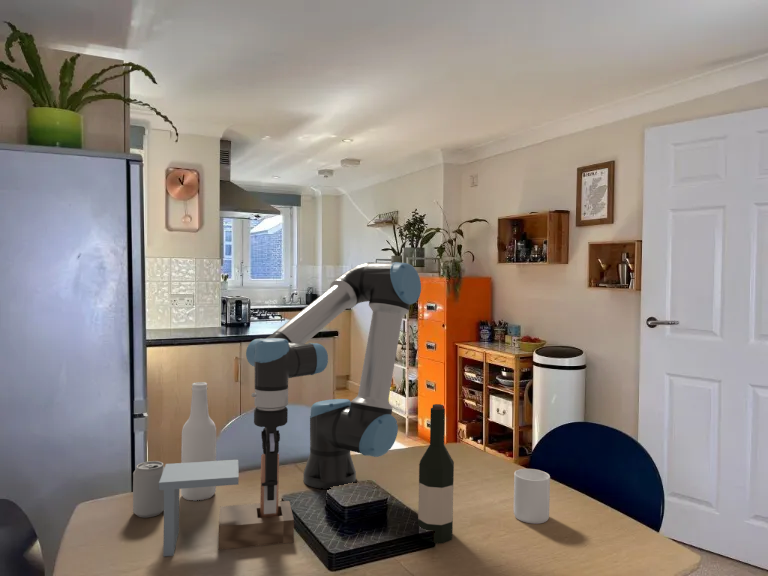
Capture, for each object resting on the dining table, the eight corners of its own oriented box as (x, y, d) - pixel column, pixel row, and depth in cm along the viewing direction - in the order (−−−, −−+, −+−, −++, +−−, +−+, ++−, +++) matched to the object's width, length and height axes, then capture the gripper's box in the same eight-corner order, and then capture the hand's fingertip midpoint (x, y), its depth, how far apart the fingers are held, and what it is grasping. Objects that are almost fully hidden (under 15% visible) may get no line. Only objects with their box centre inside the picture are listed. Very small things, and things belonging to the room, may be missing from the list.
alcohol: (222, 493, 153) (224, 382, 153) (197, 504, 146) (199, 387, 145) (199, 486, 158) (200, 379, 157) (173, 497, 150) (174, 384, 149)
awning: (237, 525, 134) (238, 459, 134) (237, 549, 122) (238, 477, 122) (165, 531, 130) (165, 463, 129) (158, 557, 118) (159, 482, 118)
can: (153, 520, 136) (154, 470, 135) (126, 517, 137) (126, 467, 137) (171, 508, 143) (172, 460, 143) (145, 505, 144) (145, 458, 144)
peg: (277, 520, 132) (278, 452, 132) (278, 527, 128) (279, 457, 128) (259, 521, 131) (260, 453, 131) (260, 529, 127) (261, 458, 127)
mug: (534, 504, 150) (535, 463, 150) (555, 523, 138) (556, 479, 138) (503, 505, 148) (504, 464, 148) (521, 525, 136) (522, 481, 136)
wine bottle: (443, 547, 125) (446, 411, 124) (410, 537, 129) (413, 406, 129) (459, 533, 132) (462, 404, 131) (427, 524, 136) (430, 399, 136)
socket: (288, 521, 136) (289, 500, 136) (293, 542, 126) (293, 519, 126) (219, 527, 132) (219, 506, 132) (218, 549, 122) (218, 526, 122)
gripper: (252, 399, 137) (251, 496, 137) (255, 416, 120) (253, 526, 120) (284, 398, 138) (283, 493, 139) (291, 415, 122) (289, 523, 122)
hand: (269, 508), depth 130 cm, fingers closed on peg, 4 cm apart
